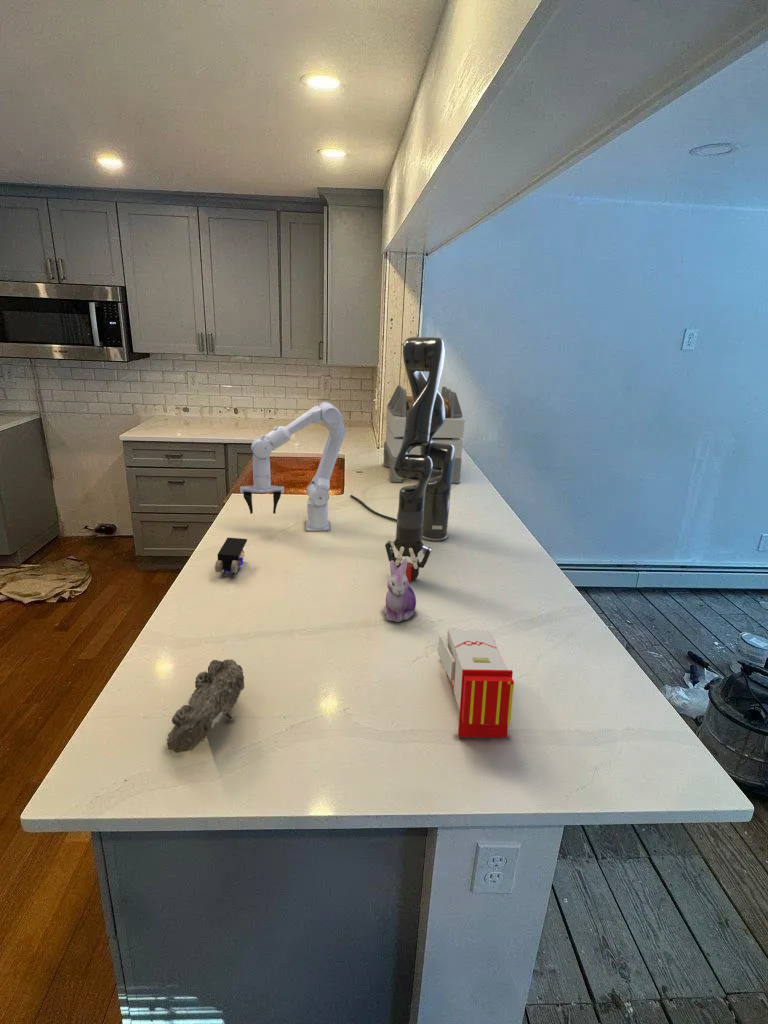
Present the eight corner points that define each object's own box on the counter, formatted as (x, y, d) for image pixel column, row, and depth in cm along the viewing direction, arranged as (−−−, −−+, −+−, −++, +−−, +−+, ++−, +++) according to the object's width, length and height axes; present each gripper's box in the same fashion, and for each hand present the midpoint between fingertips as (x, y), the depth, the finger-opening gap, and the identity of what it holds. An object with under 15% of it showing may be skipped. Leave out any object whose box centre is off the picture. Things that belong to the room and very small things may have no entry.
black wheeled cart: (238, 584, 162) (249, 557, 175) (236, 562, 158) (247, 536, 172) (215, 584, 161) (227, 556, 175) (212, 561, 158) (225, 535, 171)
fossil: (192, 660, 117) (244, 628, 112) (224, 691, 120) (276, 661, 115) (142, 746, 98) (202, 712, 93) (182, 779, 101) (242, 748, 96)
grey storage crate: (382, 463, 289) (386, 382, 275) (445, 464, 293) (451, 384, 279) (390, 482, 257) (394, 392, 243) (460, 483, 261) (468, 394, 247)
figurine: (392, 627, 141) (395, 572, 136) (374, 608, 149) (376, 556, 144) (425, 619, 145) (429, 566, 140) (405, 601, 154) (408, 550, 149)
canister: (412, 582, 165) (413, 567, 164) (399, 581, 165) (400, 567, 164) (412, 576, 169) (413, 562, 167) (400, 575, 169) (400, 561, 167)
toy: (488, 613, 130) (523, 677, 101) (484, 667, 133) (517, 744, 104) (435, 612, 130) (455, 676, 101) (432, 666, 133) (451, 743, 103)
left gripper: (238, 478, 185) (240, 517, 190) (283, 478, 187) (284, 516, 192) (240, 472, 192) (242, 509, 196) (283, 472, 194) (284, 509, 199)
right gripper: (382, 523, 160) (379, 578, 165) (431, 531, 156) (427, 587, 161) (389, 515, 166) (387, 568, 172) (437, 522, 162) (433, 576, 168)
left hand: (263, 512), depth 195 cm, fingers open, 7 cm apart
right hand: (406, 577), depth 167 cm, fingers open, 4 cm apart
